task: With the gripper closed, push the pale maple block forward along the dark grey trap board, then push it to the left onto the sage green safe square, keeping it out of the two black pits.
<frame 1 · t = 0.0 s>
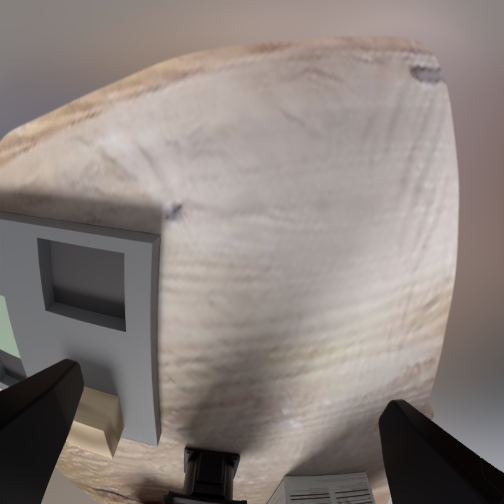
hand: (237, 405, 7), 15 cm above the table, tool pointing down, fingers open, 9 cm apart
trap board: (47, 331, 24), on the table
supplement box: (308, 496, 35), on the table
maple block: (99, 406, 24), point 2 cm above the table, touching trap board
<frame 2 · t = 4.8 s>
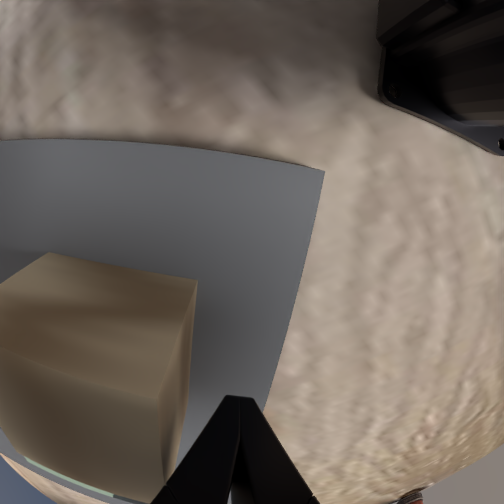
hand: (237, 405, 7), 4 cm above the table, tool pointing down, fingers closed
trap board: (40, 374, 12), on the table
maple block: (117, 335, 9), point 2 cm above the table, touching gripper
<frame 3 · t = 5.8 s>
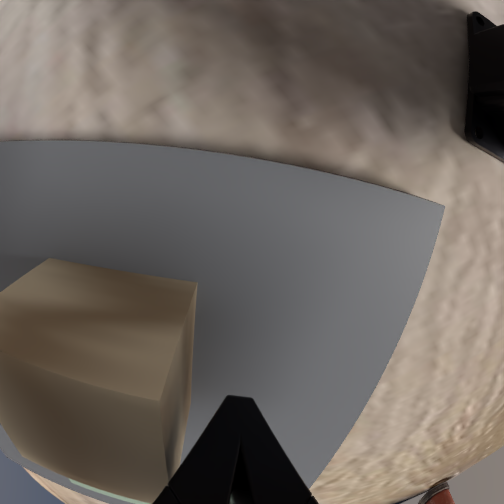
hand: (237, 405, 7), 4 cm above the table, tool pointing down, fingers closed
trap board: (103, 397, 13), on the table
maple block: (119, 338, 9), point 2 cm above the table, touching gripper, trap board
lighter: (430, 495, 20), on the table
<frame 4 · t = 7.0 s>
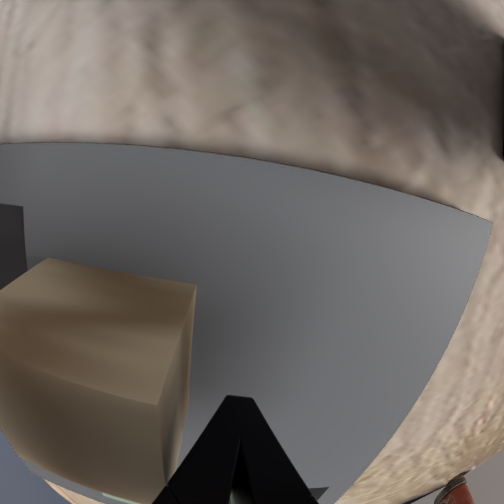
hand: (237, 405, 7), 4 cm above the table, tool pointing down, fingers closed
trap board: (150, 411, 13), on the table
maple block: (117, 339, 9), point 2 cm above the table, touching gripper, trap board
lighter: (447, 490, 20), on the table
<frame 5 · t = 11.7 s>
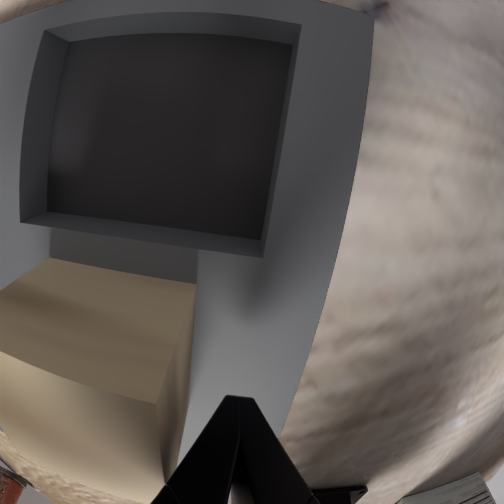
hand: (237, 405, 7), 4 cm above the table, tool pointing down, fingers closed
trap board: (26, 293, 11), on the table
maple block: (118, 339, 9), point 2 cm above the table, touching gripper, trap board
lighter: (8, 472, 20), on the table
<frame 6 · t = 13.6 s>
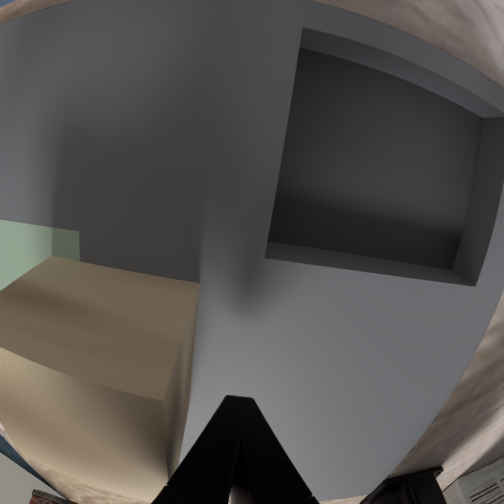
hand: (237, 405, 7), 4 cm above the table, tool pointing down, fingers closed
trap board: (192, 330, 11), on the table
supplement box: (450, 497, 22), on the table
maple block: (120, 337, 9), point 2 cm above the table, touching gripper, trap board
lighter: (55, 498, 20), on the table
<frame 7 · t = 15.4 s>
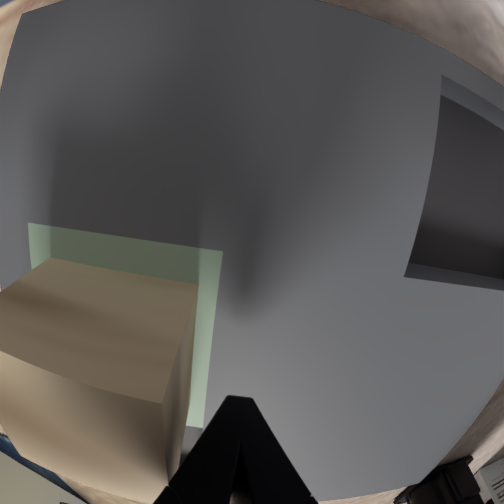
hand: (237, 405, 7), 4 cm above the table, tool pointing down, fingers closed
trap board: (303, 343, 11), on the table
supplement box: (469, 489, 23), on the table
maple block: (119, 339, 9), point 2 cm above the table, touching gripper, trap board
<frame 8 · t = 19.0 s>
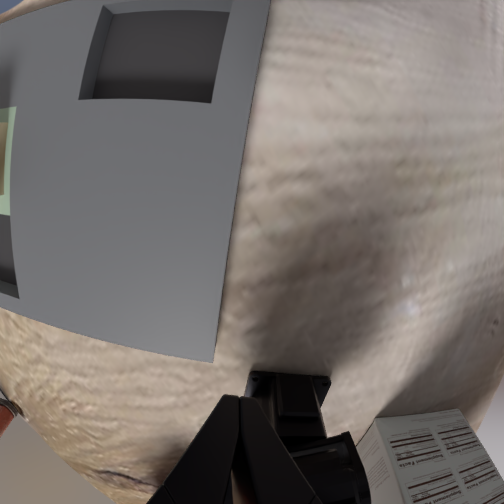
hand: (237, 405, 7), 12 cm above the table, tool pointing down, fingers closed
trap board: (62, 163, 16), on the table
supplement box: (387, 455, 27), on the table
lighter: (1, 404, 25), on the table
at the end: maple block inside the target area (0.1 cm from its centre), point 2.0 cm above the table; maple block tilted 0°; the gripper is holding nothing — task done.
